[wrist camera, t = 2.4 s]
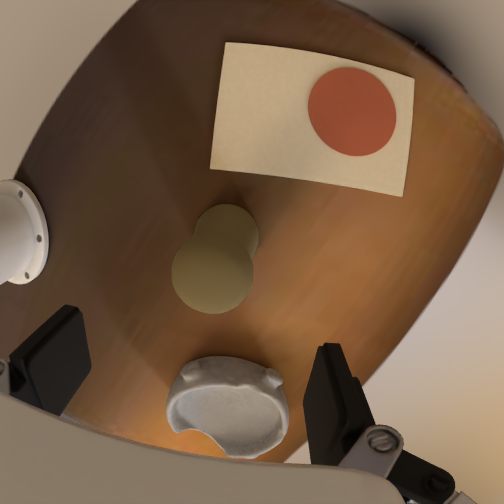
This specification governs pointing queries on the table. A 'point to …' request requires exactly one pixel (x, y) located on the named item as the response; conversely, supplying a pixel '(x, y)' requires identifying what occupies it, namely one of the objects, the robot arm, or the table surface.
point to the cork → (217, 260)
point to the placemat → (312, 118)
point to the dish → (230, 404)
